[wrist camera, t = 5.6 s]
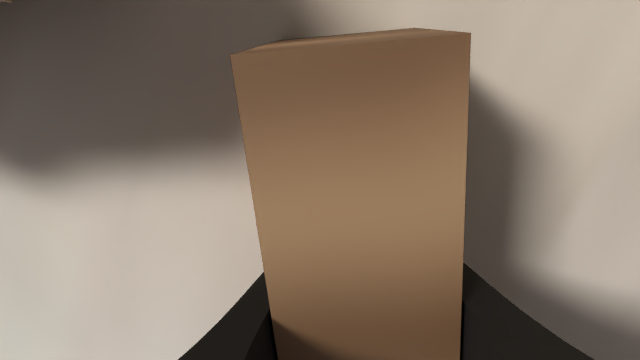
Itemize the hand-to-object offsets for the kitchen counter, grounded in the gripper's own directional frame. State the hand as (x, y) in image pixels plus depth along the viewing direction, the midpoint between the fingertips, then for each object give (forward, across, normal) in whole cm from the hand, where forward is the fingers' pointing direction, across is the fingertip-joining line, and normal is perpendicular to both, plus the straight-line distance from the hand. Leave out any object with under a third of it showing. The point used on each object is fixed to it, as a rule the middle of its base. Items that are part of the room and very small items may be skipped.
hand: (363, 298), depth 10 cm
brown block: (+3, 0, 0) cm, 3 cm away
